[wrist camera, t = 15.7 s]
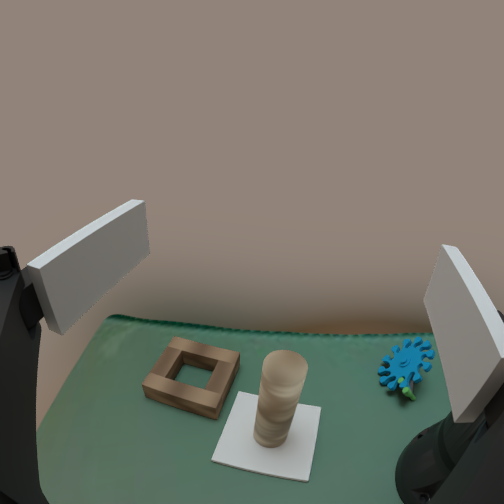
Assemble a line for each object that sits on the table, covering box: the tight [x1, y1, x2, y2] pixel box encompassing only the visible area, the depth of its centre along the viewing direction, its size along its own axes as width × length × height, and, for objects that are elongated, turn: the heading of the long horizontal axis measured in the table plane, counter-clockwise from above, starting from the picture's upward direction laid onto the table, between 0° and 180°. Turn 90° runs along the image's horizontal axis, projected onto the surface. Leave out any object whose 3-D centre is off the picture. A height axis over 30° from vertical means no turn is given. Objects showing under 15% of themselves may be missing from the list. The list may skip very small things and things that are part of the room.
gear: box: [378, 337, 435, 401], centre depth 43 cm, size 11×6×10 cm
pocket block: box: [142, 336, 240, 420], centre depth 43 cm, size 11×11×3 cm
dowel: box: [253, 350, 308, 448], centre depth 32 cm, size 4×4×14 cm
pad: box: [211, 391, 321, 482], centre depth 36 cm, size 12×12×1 cm
